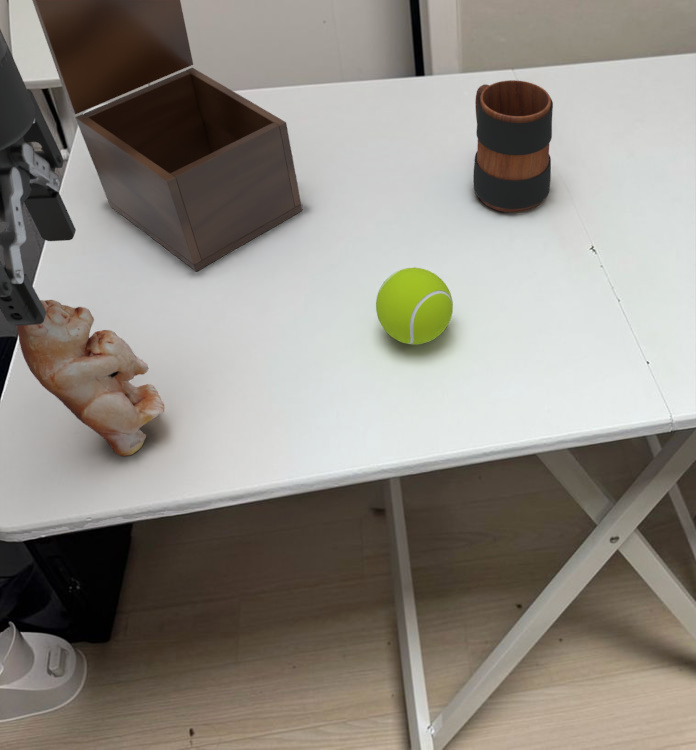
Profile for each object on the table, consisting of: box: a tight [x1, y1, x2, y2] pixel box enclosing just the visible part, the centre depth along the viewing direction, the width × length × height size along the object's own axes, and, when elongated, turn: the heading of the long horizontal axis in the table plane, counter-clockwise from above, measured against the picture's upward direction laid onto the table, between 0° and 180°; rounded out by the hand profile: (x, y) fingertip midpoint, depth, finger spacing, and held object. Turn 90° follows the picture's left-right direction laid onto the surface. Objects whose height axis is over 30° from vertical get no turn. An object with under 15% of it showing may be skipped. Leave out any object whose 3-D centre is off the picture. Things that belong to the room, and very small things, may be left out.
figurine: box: [16, 299, 165, 457], centre depth 65 cm, size 6×8×15 cm
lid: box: [32, 0, 194, 115], centre depth 80 cm, size 17×14×5 cm
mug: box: [472, 79, 554, 214], centre depth 91 cm, size 9×12×12 cm
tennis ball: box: [375, 267, 454, 345], centre depth 76 cm, size 7×7×7 cm
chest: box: [75, 67, 303, 272], centre depth 87 cm, size 16×14×11 cm
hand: (46, 277), depth 57 cm, fingers open, 8 cm apart
